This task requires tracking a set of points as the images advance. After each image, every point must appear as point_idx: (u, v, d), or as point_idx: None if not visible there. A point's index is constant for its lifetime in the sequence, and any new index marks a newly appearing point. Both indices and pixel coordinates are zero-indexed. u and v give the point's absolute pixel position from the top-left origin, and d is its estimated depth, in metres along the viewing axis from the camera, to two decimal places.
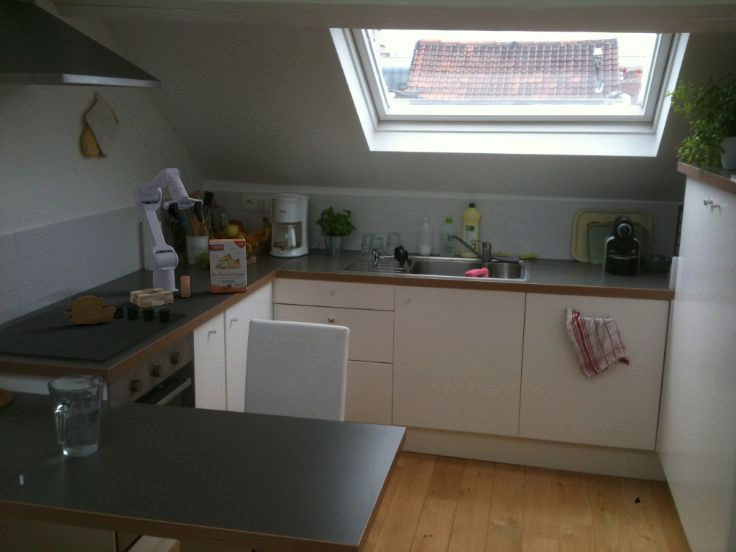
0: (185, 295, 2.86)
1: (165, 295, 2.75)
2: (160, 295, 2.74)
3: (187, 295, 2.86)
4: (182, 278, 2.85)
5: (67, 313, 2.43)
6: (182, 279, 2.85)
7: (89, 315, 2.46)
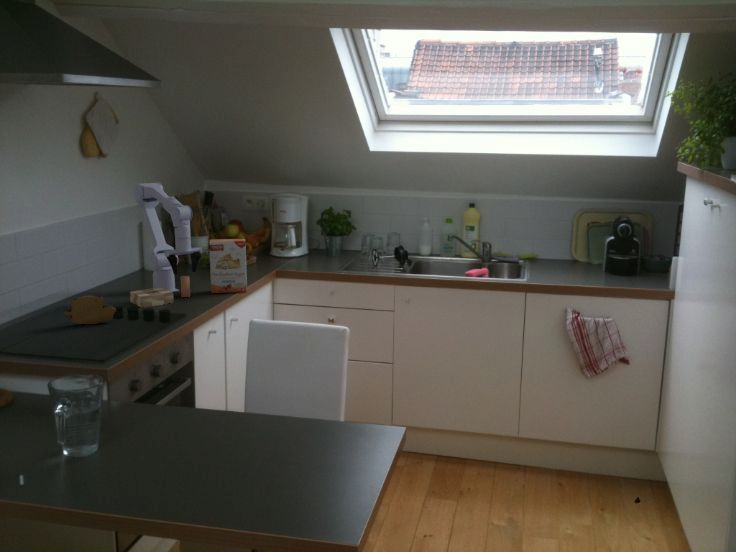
0: (185, 295, 2.86)
1: (165, 295, 2.75)
2: (160, 295, 2.74)
3: (187, 295, 2.86)
4: (182, 278, 2.85)
5: (67, 313, 2.43)
6: (182, 279, 2.85)
7: (89, 315, 2.46)
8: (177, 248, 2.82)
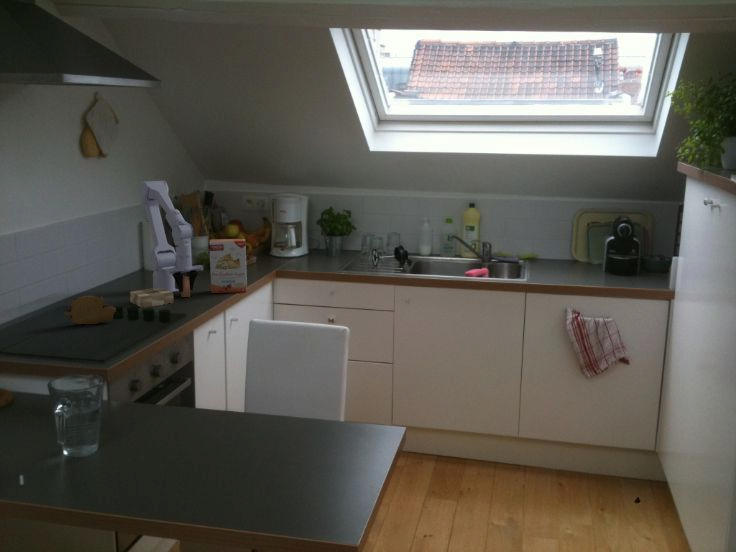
0: (185, 295, 2.86)
1: (165, 295, 2.75)
2: (160, 295, 2.74)
3: (187, 295, 2.86)
4: None
5: (67, 313, 2.43)
6: None
7: (89, 315, 2.46)
8: (178, 266, 2.83)
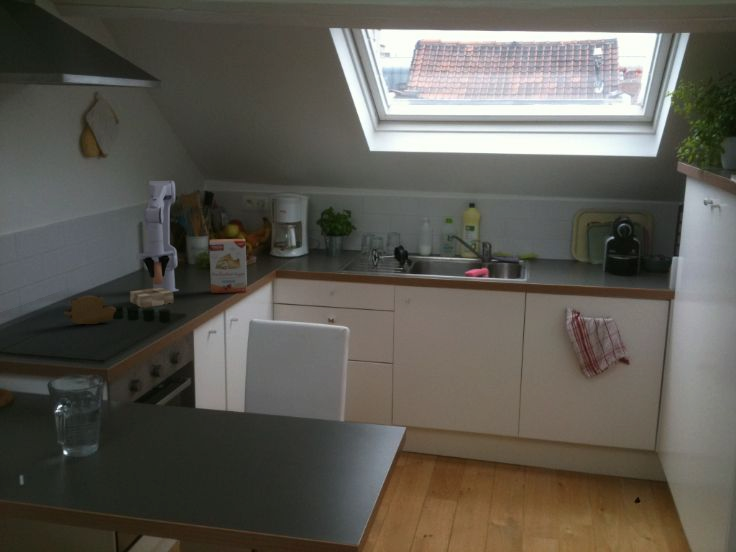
0: (157, 282, 2.77)
1: (165, 295, 2.75)
2: (160, 295, 2.74)
3: (159, 282, 2.77)
4: None
5: (67, 313, 2.43)
6: None
7: (89, 315, 2.46)
8: (149, 251, 2.74)
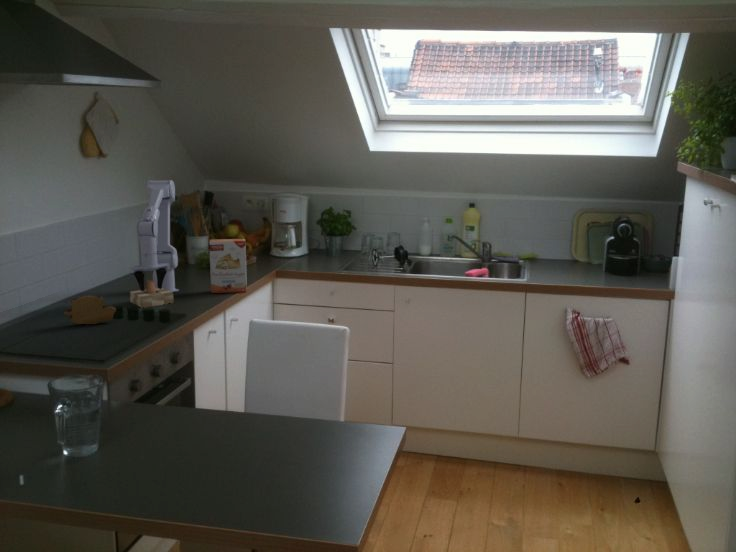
0: None
1: (165, 295, 2.75)
2: (160, 295, 2.74)
3: None
4: (147, 283, 2.75)
5: (67, 313, 2.43)
6: (147, 284, 2.75)
7: (89, 315, 2.46)
8: (143, 264, 2.73)
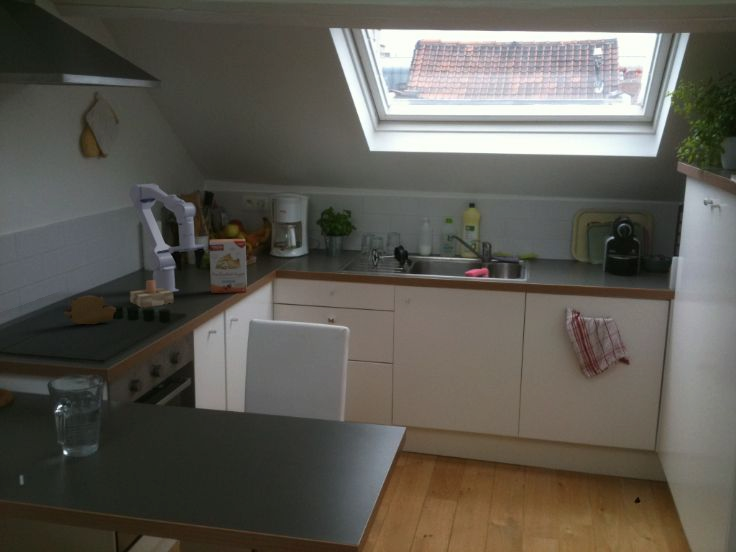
0: None
1: (165, 295, 2.75)
2: (160, 295, 2.74)
3: None
4: (147, 283, 2.75)
5: (67, 313, 2.43)
6: (147, 284, 2.75)
7: (89, 315, 2.46)
8: (181, 245, 2.83)
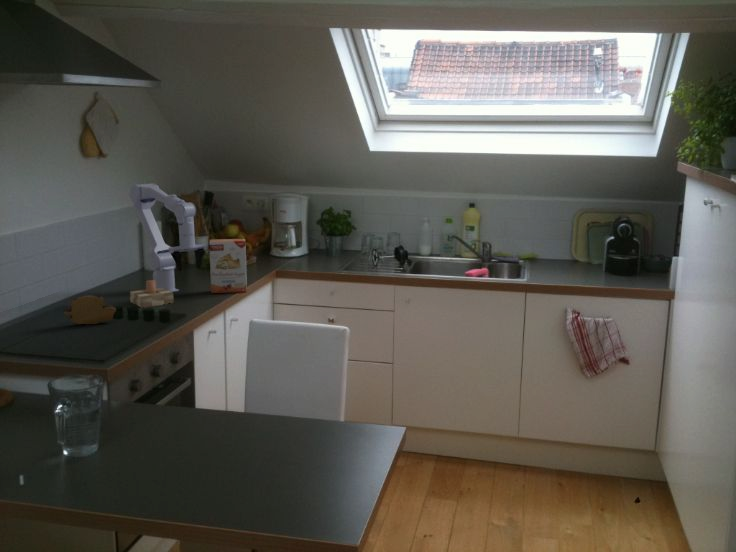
0: None
1: (165, 295, 2.75)
2: (160, 295, 2.74)
3: None
4: (147, 283, 2.75)
5: (67, 313, 2.43)
6: (147, 284, 2.75)
7: (89, 315, 2.46)
8: (181, 245, 2.83)
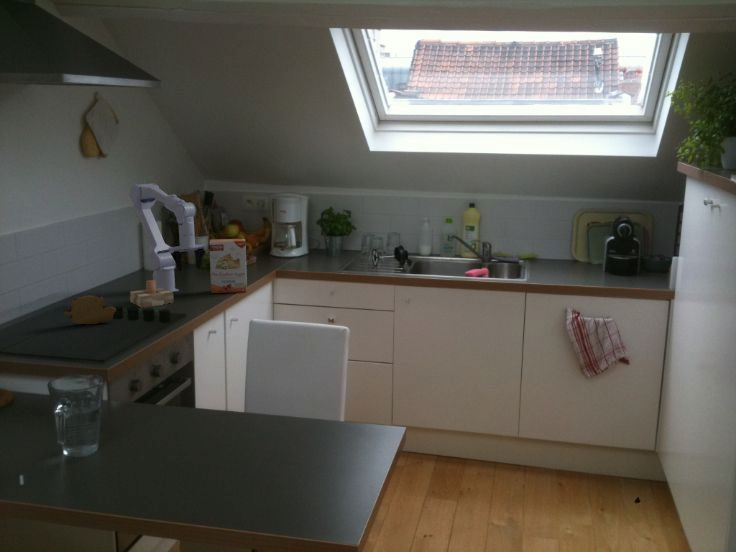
0: None
1: (165, 295, 2.75)
2: (160, 295, 2.74)
3: None
4: (147, 283, 2.75)
5: (67, 313, 2.43)
6: (147, 284, 2.75)
7: (89, 315, 2.46)
8: (181, 245, 2.83)
